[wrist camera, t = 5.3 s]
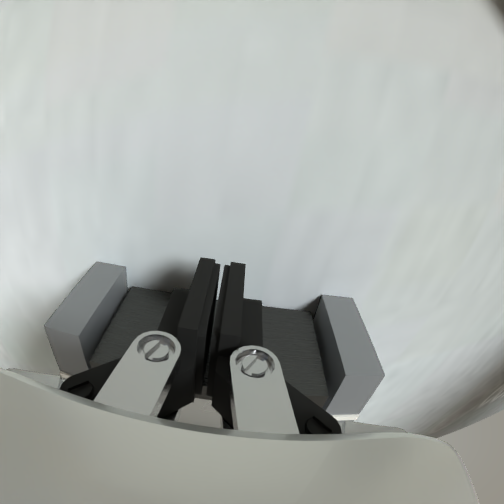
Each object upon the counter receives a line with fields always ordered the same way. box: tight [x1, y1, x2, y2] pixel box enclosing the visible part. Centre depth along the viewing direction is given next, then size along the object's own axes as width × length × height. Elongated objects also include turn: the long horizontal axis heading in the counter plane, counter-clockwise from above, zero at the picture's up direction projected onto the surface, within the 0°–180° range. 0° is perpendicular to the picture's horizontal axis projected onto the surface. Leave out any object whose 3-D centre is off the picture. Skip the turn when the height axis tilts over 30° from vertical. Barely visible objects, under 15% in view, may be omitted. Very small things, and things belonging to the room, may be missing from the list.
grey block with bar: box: [90, 286, 329, 428], centre depth 12 cm, size 12×6×7 cm, turn 81°
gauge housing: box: [44, 262, 385, 423], centre depth 14 cm, size 12×14×5 cm
